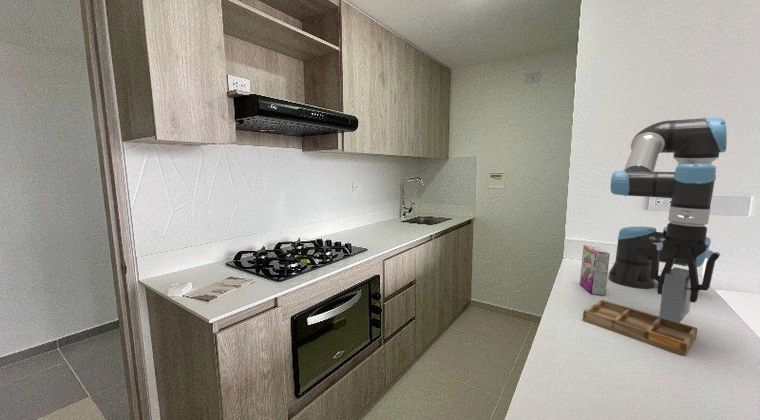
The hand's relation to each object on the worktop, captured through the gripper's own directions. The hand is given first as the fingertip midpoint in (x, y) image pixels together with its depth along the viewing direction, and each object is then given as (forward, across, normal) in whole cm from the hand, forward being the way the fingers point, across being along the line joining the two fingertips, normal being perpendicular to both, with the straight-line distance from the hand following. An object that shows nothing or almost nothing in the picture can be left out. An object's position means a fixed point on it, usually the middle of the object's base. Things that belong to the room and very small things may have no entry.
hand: (674, 309), depth 86 cm
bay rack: (+9, -7, 0) cm, 12 cm away
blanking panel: (+2, 0, 0) cm, 2 cm away
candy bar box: (+9, -27, +24) cm, 38 cm away
